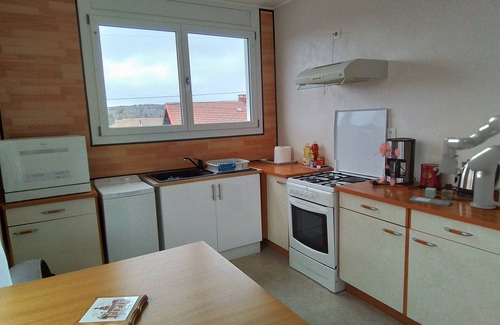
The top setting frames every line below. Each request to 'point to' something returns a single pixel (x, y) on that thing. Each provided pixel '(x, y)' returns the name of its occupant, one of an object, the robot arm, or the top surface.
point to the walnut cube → (447, 194)
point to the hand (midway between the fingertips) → (446, 181)
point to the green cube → (430, 192)
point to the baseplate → (430, 201)
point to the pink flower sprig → (386, 152)
